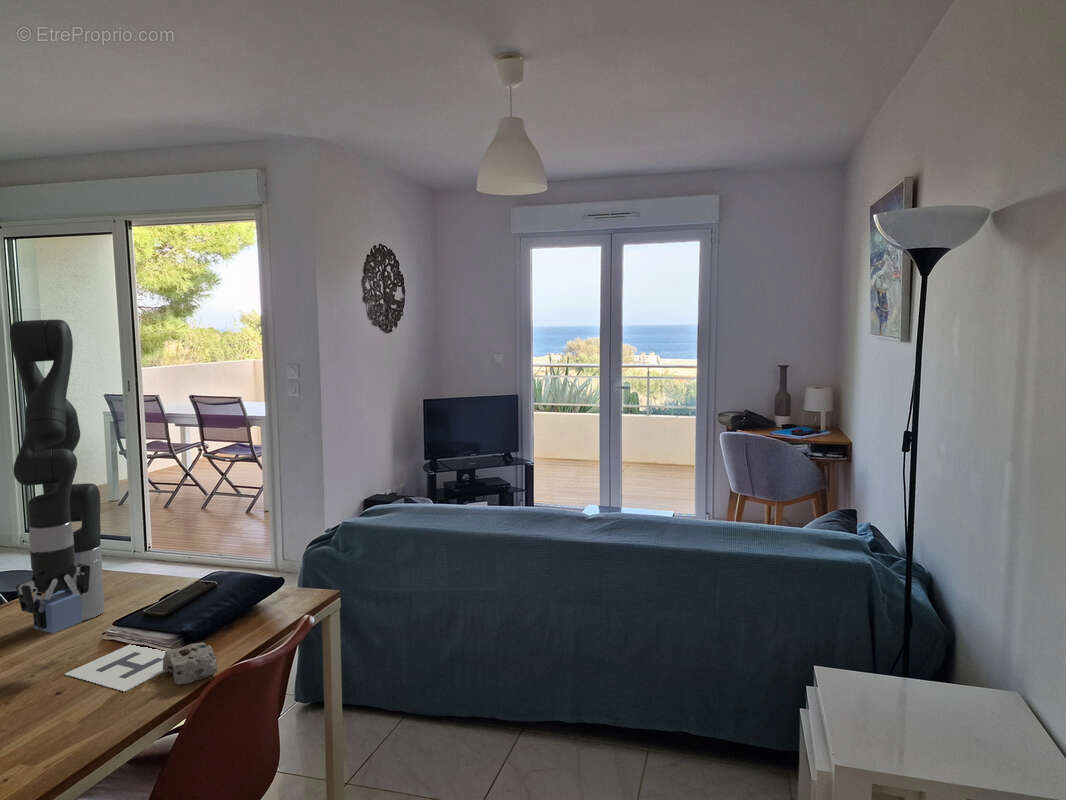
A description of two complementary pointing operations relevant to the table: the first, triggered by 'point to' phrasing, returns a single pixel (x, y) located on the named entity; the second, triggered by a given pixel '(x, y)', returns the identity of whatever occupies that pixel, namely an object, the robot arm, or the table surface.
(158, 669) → the letter card
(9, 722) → the table surface
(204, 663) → the stone
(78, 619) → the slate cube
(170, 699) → the table surface
